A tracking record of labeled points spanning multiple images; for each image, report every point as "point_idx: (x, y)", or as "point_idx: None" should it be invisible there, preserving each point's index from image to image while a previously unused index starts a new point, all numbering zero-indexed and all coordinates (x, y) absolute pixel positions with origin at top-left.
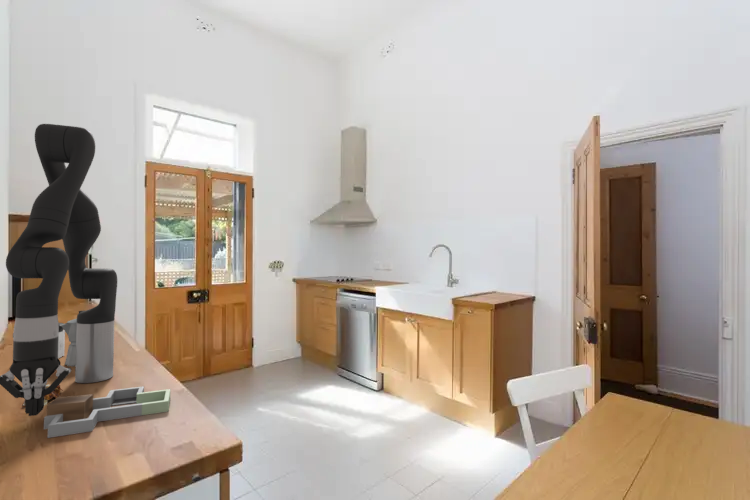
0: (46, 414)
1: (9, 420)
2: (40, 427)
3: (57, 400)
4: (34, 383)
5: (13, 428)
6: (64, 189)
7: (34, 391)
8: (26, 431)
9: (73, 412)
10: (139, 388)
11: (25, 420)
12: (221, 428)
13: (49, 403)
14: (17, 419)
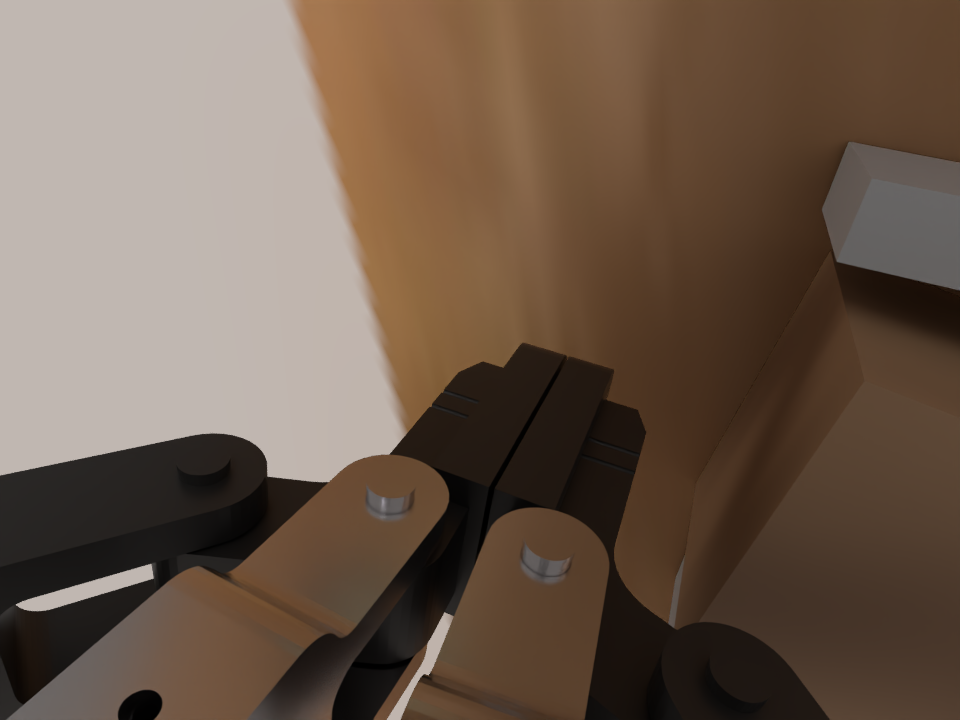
0: (684, 569)
1: (331, 64)
2: (647, 504)
3: (834, 567)
4: (302, 718)
5: (430, 363)
6: None
7: (412, 569)
8: None
9: None
10: None
11: (489, 182)
12: None
13: (706, 621)
14: (401, 81)
